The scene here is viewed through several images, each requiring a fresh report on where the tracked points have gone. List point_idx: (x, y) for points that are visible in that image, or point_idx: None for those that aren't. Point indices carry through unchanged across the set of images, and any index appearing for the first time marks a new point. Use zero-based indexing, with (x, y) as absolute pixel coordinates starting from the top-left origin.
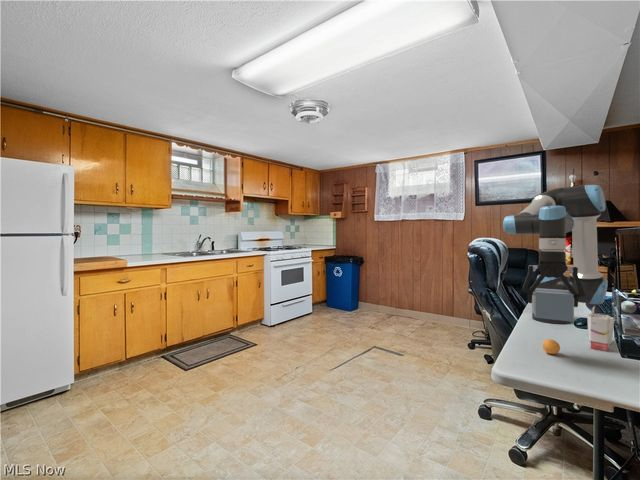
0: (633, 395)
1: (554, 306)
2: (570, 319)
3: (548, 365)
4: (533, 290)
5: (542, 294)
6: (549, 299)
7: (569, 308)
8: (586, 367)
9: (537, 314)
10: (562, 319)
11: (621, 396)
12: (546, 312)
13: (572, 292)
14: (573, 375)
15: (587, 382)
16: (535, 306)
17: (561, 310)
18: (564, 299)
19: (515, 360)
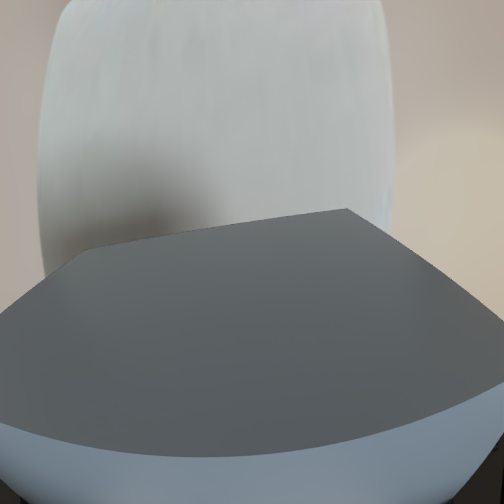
0: (53, 44)
1: (169, 279)
2: (91, 252)
3: (243, 113)
4: (465, 488)
5: (393, 380)
6: (223, 331)
7: (44, 292)
8: (131, 185)
9: (341, 216)
10: (142, 242)
11: (76, 15)
12: (264, 235)
13: (12, 497)
14: (165, 67)
15: (133, 39)
16: (393, 239)
17: (116, 272)
18: (14, 348)
19: (352, 98)
